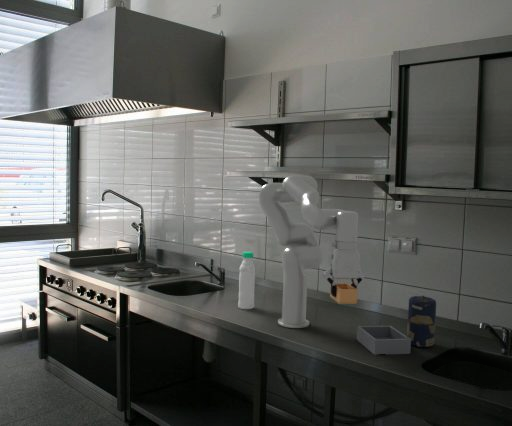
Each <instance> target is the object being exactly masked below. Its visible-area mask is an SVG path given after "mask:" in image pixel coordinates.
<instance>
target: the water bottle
mask: <svg viewBox="0 0 512 426" xmlns="http://www.w3.org/2000/svg"><path fill="white" fill-rule="evenodd" d="M253 259H254V252H252V251H243V252H242V262H241V264H240V266H239V268H238V269H239V275H238V276H239V278H238V303H237V307H238V308H239V309H240V310H252V309H253V308H254V307H255V285H256V266H255V264H254V261H253Z"/></svg>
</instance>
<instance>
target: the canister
mask: <svg viewBox="0 0 512 426" xmlns="http://www.w3.org/2000/svg"><path fill="white" fill-rule="evenodd" d="M407 311H408V312H407V328H406V336H407V337H408V338H410V339H411V345H412V346H414V347H419V348H429V347H433V346H434V345H435V337H436V333H435V332H436V326H437V325H436V321H437V320H436V314H437V301H436V300H435V299H434V298H432V297H429V296H425V295H416V296H411V297H409V299H408V310H407Z"/></svg>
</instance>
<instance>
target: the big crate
mask: <svg viewBox="0 0 512 426" xmlns="http://www.w3.org/2000/svg"><path fill="white" fill-rule="evenodd" d="M356 328H357V329H356V340H357V341H358V342H359V343H360V344H361V345H362V346H364V347H365V348H366V349H367V350H368V351H369V352H370V353H371V354H373V355H375V356H379V354H386V355H410V354H411V347H412V346H411V345H412V344H411V339H410V338H408V337H407V335H405V334H404V333H403V332H401V331H399V330H398V329H396V328H395V327H393V326H392V325H369V326H368V325H366V326H365V325H364V326H363V325H362V326H361V325H359V326H357V327H356ZM377 354H378V355H377Z"/></svg>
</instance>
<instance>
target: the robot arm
mask: <svg viewBox="0 0 512 426" xmlns="http://www.w3.org/2000/svg"><path fill="white" fill-rule="evenodd" d="M258 199H259V206H260V208H261V210H262V211H263V213H264V215H265V217H266V218H267V220H268V222H269V224H270V226H271V229H272V231H273V234H274V235H275V239H276V241H277V242H278V244H279V245H280V246H282V247H286V248H285V249H284V250H283V251H282V253H281V263H282V272H283V275H282V277H283V279H282V280H283V281H282V283H283V284H282V285H283V286H282V303H281V304H282V305H281V307H282V308H281V310H282V311H281V318H278V319H277V323H278V325H279V326H282V327H284V328H289V329H301V328H302V329H303V328H307V327H309V326H310V321H309V320H308V319H306V318H307V317H306V315H307V298H308V297H307V295H308V279H307V275H306V274H305V272H304V270H308V269H309V270H310V269H315V268H319V267H320V266H321V265H322V264H323V262H324V254H323V253H324V252H323V250H322V248H321V245H320V243H319V241H318V239H317V237H316V234H315V232H314V230H313V229H312V228H314V229H315V230H319V231H323V230H329V231H330V230H333V231H334V230H335V240H334V242H331V247H334V249H333V250H332V253H331V259H330V264H329V267H328V269H326V271H324V272H323V273H322V276H323V277H324V278H325V280H327V282H328V283H329V284H330V287H331V294H332V296H334V297H336V291H337V286H336V283H338V280H341V279H342V280H351V284H350V285H351V286H353V287H354V288H356V289H358V286H359V284H360V283H361V282H362V280H363V279H364V278H365V277H366V276H367V275H366V273H365V272H364V271H363V270H362V269H361V256H360V255H361V254H360V251H359V250H358V231H359V230H358V229H359V214H358V212H357V211H352V210H344V209H341V208H319V207H318V206H317V205H318V204H319V202H320V192H318V182H317V180H316V179H315V178H314V177H313V176H311V175H305V174H304V175H299V174H293V175H289V176H287V177H285V179H283V181H282V182H269V183H266V184H264V185H262V187H261V188H260V190H259V195H258ZM294 203H295V204H296V203H297V205H299V206H300V213H301V216H302V218H303V220H304V221H305V222H306V223H305V222H293V221H292V219H291V218H290V215H289V213H288V211H287V210H286V209H285V208H284V207H283V206H281V204H294ZM307 223H308V224H307ZM311 227H312V228H311ZM329 275H330V276H331V277H330V276H329Z"/></svg>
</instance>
